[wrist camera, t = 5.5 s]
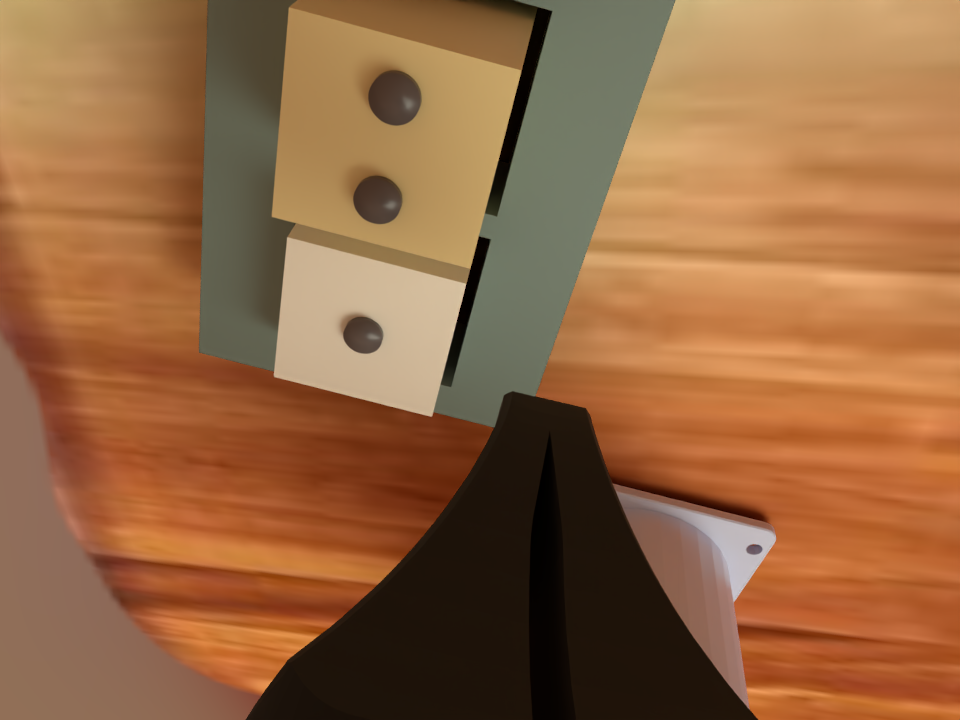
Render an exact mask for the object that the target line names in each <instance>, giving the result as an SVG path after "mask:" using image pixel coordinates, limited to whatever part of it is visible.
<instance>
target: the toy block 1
mask: <svg viewBox="0 0 960 720" xmlns="http://www.w3.org/2000/svg"><path fill="white" fill-rule="evenodd" d="M537 8H538V7H536V6H533V5H529V4H525V3H522V2H518V1H515V0H297V1H296V2H295V3H293V4H292V5H291V6H290V7H289V13H288V25H287V37H286V49H285V61H284V73H283V85H282V97H281V110H280V122H279V134H278V146H277V158H276V170H275V182H274V194H273V206H272V217H274V218H278V219H282V220H286V221H289V222H293V223H297V224H301V225H305V226H309V227H312V228H316V229H320V230H324V231H328V232H331V233H335V234H339V235H343V236H347V237H351V238H354V239H358V240H362V241H366V242H370V243H373V244H377V245H381V246H385V247H389V248H393V249H396V250H400V251H404V252H408V253H412V254H415V255H419V256H423V257H427V258H431V259H435V260H438V261H442V262H446V263H450V264H454V265H458V266H461V267H465V268H469V269H470V268H471V264H472V261H473V257H474V253H475V249H476V245H477V241H478V237H479V233H480V230H481V226H482V222H483V218H484V214H485V210H486V206H487V202H488V199H489V195H490V191H491V187H492V183H493V179H494V175H495V172H496V168H497V164H498V160H499V156H500V152H501V148H502V144H503V141H504V137H505V133H506V129H507V125H508V121H509V117H510V113H511V110H512V106H513V102H514V98H515V94H516V90H517V86H518V83H519V79H520V75H521V71H522V67H523V63H524V59H525V55H526V51H527V47H528V43H529V39H530V35H531V31H532V27H533V23H534V20H535V16H536V12H537Z"/></svg>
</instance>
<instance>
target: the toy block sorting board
mask: <svg viewBox="0 0 960 720" xmlns="http://www.w3.org/2000/svg"><path fill="white" fill-rule="evenodd" d="M296 1H297V0H208V15H207V55H206V95H205V134H204V174H203V213H202V253H201V293H200V332H199V353H203V354H207V355H211V356H215V357H219V358H222V359H226V360H230V361H234V362H238V363H242V364H246V365H250V366H254V367H258V368H262V369H266V370H270V371H274V368H275V358H276V348H277V338H278V327H279V317H280V307H281V296H282V286H283V276H284V265H285V255H286V245H287V237H288V235H289V234H290V232H291V231H292V229H293V227H294V226H295V224H296V223H293V222H289V221H286V220H282V219H278V218H274V217H272V206H273V194H274V182H275V170H276V158H277V146H278V134H279V122H280V110H281V97H282V85H283V73H284V61H285V49H286V37H287V25H288V13H289V7H290V6H291V5H292V4H293V3H295V2H296ZM515 1H518V2H522V3H525V4H529V5H533V6H536V7H540V8H544V9H547V10H550V13H549V17H548V21H547V24H546V28H545V32H544V36H543V39H542V43H541V47H540V51H539V54H538V58H537V62H536V65H535V69H534V73H533V77H532V80H531V84H530V88H529V92H528V95H527V99H526V103H525V107H524V110H523V114H522V118H521V122H520V125H519V129H518V133H517V136H516V140H515V144H514V148H513V151H512V155H511V159H510V163H505V162H502V161H498V164H497V168H496V172H495V175H494V179H493V183H492V187H491V191H490V195H489V199H488V202H487V206H486V210H485V214H484V218H483V222H482V226H481V230H480V233H479V236H481V237H485V238H488V239H489V241H488V245H487V249H486V252H485V256H484V260H483V263H482V267H481V271H480V275H479V278H478V282H477V286H476V290H475V293H474V297H473V301H472V305H471V308H470V312H469V316H468V320H467V323H466V324H463V323H459V322H456V326H455V330H454V334H453V338H452V341H451V345H450V349H449V353H448V357H447V361H446V365H445V369H444V372H443V376H442V380H441V384H440V388H439V392H438V396H437V399H436V403H435V407H434V411H433V412H435V413H439V414H443V415H447V416H451V417H455V418H458V419H462V420H466V421H470V422H474V423H478V424H482V425H486V426H490V427H495V424H496V421H497V417H498V414H499V410H500V407H501V403H502V400H503V396H504V395H505V394H507V393H509V392H512V391H514V392H518V393H523V394H527V395H531V396H536V393H537V390H538V387H539V385H540V382H541V379H542V376H543V373H544V370H545V368H546V365H547V362H548V359H549V356H550V353H551V351H552V348H553V345H554V342H555V339H556V337H557V334H558V331H559V328H560V325H561V322H562V320H563V317H564V314H565V311H566V308H567V305H568V303H569V300H570V297H571V294H572V291H573V288H574V286H575V283H576V280H577V277H578V274H579V271H580V269H581V266H582V263H583V260H584V257H585V255H586V252H587V249H588V246H589V243H590V240H591V238H592V235H593V232H594V229H595V226H596V223H597V221H598V218H599V215H600V212H601V209H602V206H603V204H604V201H605V198H606V195H607V192H608V190H609V187H610V184H611V181H612V178H613V175H614V173H615V170H616V167H617V164H618V161H619V158H620V156H621V153H622V150H623V147H624V144H625V141H626V139H627V136H628V133H629V130H630V127H631V124H632V122H633V119H634V116H635V113H636V110H637V108H638V105H639V102H640V99H641V96H642V93H643V91H644V88H645V85H646V82H647V79H648V76H649V74H650V71H651V68H652V65H653V62H654V59H655V57H656V54H657V51H658V48H659V45H660V43H661V40H662V37H663V34H664V31H665V28H666V26H667V23H668V20H669V17H670V14H671V11H672V9H673V6H674V3H675V0H515Z"/></svg>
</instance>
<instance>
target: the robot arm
mask: <svg viewBox="0 0 960 720" xmlns="http://www.w3.org/2000/svg"><path fill="white" fill-rule="evenodd" d="M775 541H776V535H775V530H774V527H773V526H772V525H771V524H769V523H766V522H763V521H759V520H755V519H751V518H747V517H743V516H739V515H735V514H731V513H727V512H723V511H719V510H716V509H712V508H708V507H704V506H700V505H696V504H692V503H688V502H684V501H680V500H676V499H672V498H668V497H664V496H660V495H656V494H652V493H648V492H644V491H640V490H636V489H633V488H629V487H625V486H621V485H617V484H613V483H612V481H611V478H610V476H609V473H608V470H607V467H606V465H605V462H604V459H603V456H602V453H601V450H600V447H599V444H598V441H597V438H596V435H595V431H594V428H593V424H592V421H591V417H590V414H589V413H588V411H587V410H586V408H582V407H578V406H574V405H570V404H565V403H561V402H557V401H552V400H548V399H544V398H540V397H535V396H531V395H527V394H523V393H518V392H514V391H512V392H509V393H507V394H505V395H504V396H503V400H502V403H501V407H500V410H499V414H498V417H497V421H496V424H495V427H494V429H493V431H492V434H491V436H490V438H489V440H488V442H487V444H486V446H485V447H484V449H483V451H482V453H481V454H480V456H479V458H478V460H477V461H476V463H475V465H474V466H473V468H472V470H471V472H470V473H469V475H468V476H467V478H466V479H465V481H464V482H463V484H462V485H461V487H460V488H459V489H458V491H457V492H456V494H455V495H454V497H453V498H452V500H451V501H450V502H449V504H448V505H447V507H446V508H445V509H444V511H443V512H442V513H441V515H440V516H439V517H438V519H437V520H436V521H435V522H434V524H433V525H432V526H431V527H430V529H429V530H428V531H427V532H426V533H425V535H424V536H423V537H422V538H421V539H420V540H419V542H418V543H417V544H416V545H415V546H414V547H413V549H412V550H411V551H410V552H409V553H408V554H407V555H406V556H405V557H404V558H403V559H402V560H401V561H400V563H399V564H398V565H397V566H396V567H395V568H394V569H393V570H392V571H391V572H390V573H389V574H388V575H387V576H386V577H385V578H384V579H383V580H382V581H381V582H380V583H379V584H378V585H377V586H376V587H375V588H374V589H373V590H372V591H371V592H369V593H368V594H367V595H366V596H365V597H364V598H363V599H362V600H361V601H360V602H358V603H357V604H356V605H355V606H354V607H353V608H352V609H351V610H350V611H348V612H347V613H346V614H345V615H344V616H343V617H342V618H341V619H339V620H338V621H337V622H336V623H335V624H333V625H332V626H331V627H330V628H329V629H327V630H326V631H325V632H323V633H322V634H321V635H319V636H318V637H317V638H316V639H314V640H313V641H312V642H310V643H309V644H308V645H306V646H305V647H304V648H303V649H301V650H300V651H299V652H297V653H296V654H295V655H294V656H292V657H291V658H290V659H289V660H287V662H286V664H285V665H284V666H283V667H282V669H281V670H280V671H279V673H278V674H277V675H276V677H275V678H274V679H273V681H272V682H271V683H270V685H269V686H268V687H267V689H266V690H265V692H264V693H263V694H262V696H261V697H260V699H259V700H258V702H257V703H256V704H255V706H254V708H253V709H252V711H251V712H250V714H249V715H248V717H247V719H246V720H758V719H757V718H756V717H755V716H754V714H753V713H752V712H751V711H750V709H749V703H748V696H747V689H746V682H745V676H744V669H743V662H742V656H741V649H740V642H739V636H738V629H737V622H736V615H735V609H734V601H735V600H736V599H737V597H738V596H739V594H740V593H741V591H742V590H743V588H744V587H745V585H746V584H747V582H748V581H749V580H750V578H751V577H752V575H753V574H754V572H755V571H756V569H757V568H758V566H759V565H760V563H761V562H762V561H763V559H764V558H765V556H766V555H767V553H768V552H769V550H770V549H771V547H772V546H773V544H774V543H775ZM752 544H758V545H754V546H751V545H752Z"/></svg>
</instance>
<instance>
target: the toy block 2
mask: <svg viewBox="0 0 960 720" xmlns="http://www.w3.org/2000/svg"><path fill="white" fill-rule="evenodd" d="M469 272H470V269H469V268H465V267H461V266H458V265H454V264H450V263H446V262H442V261H438V260H435V259H431V258H427V257H423V256H419V255H415V254H412V253H408V252H404V251H400V250H396V249H393V248H389V247H385V246H381V245H377V244H373V243H370V242H366V241H362V240H358V239H354V238H351V237H347V236H343V235H339V234H335V233H331V232H328V231H324V230H320V229H316V228H312V227H309V226H305V225H301V224H297V223H296V224H295V226H294V227H293V229H292V231H291V232H290V234H289V235H288V237H287V245H286V255H285V265H284V276H283V286H282V296H281V307H280V317H279V327H278V338H277V348H276V358H275V368H274V377H276V378H280V379H284V380H288V381H292V382H296V383H300V384H304V385H308V386H312V387H316V388H320V389H324V390H328V391H332V392H336V393H339V394H343V395H347V396H351V397H355V398H359V399H363V400H367V401H371V402H375V403H379V404H383V405H387V406H391V407H395V408H399V409H403V410H406V411H410V412H414V413H418V414H422V415H426V416H430V417H432V415H433V411H434V407H435V403H436V399H437V396H438V392H439V388H440V384H441V380H442V376H443V372H444V369H445V365H446V361H447V357H448V353H449V349H450V345H451V341H452V338H453V334H454V330H455V326H456V322H457V318H458V314H459V310H460V307H461V303H462V299H463V295H464V291H465V287H466V283H467V279H468V276H469Z"/></svg>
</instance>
